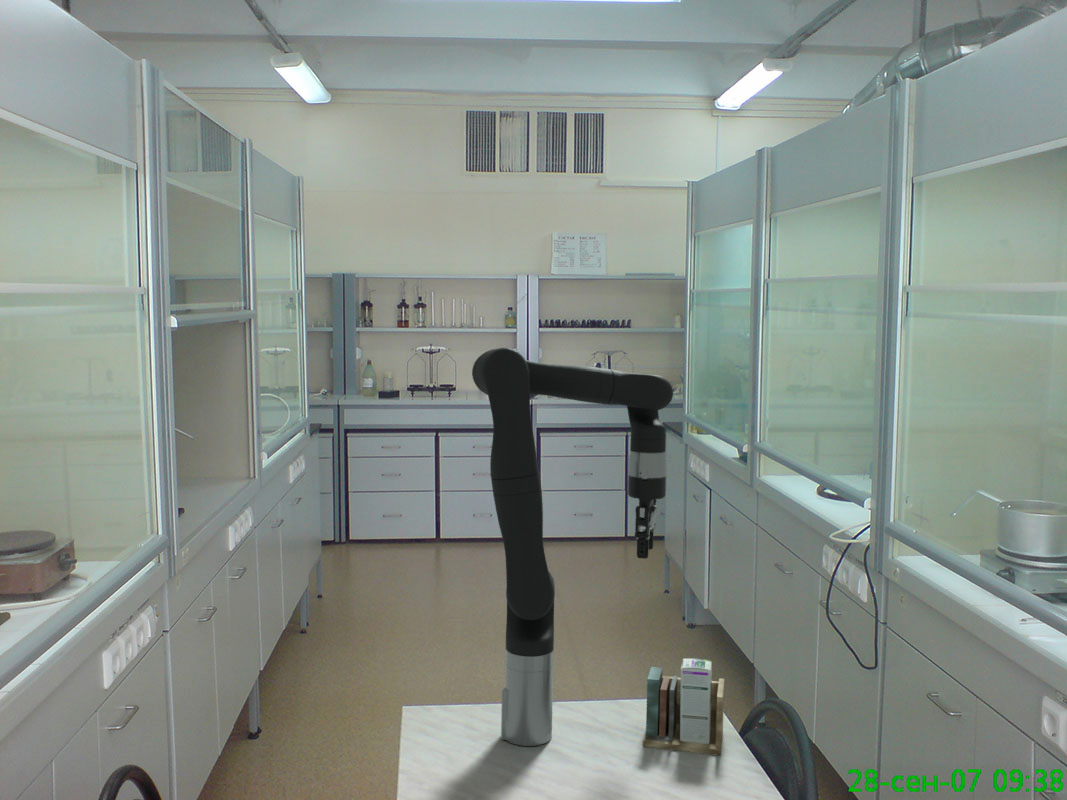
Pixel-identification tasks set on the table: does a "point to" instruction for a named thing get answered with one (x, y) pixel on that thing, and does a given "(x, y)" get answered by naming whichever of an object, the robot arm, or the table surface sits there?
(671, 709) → the shelf
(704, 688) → the syrup box
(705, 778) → the table surface
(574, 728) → the table surface
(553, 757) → the table surface
